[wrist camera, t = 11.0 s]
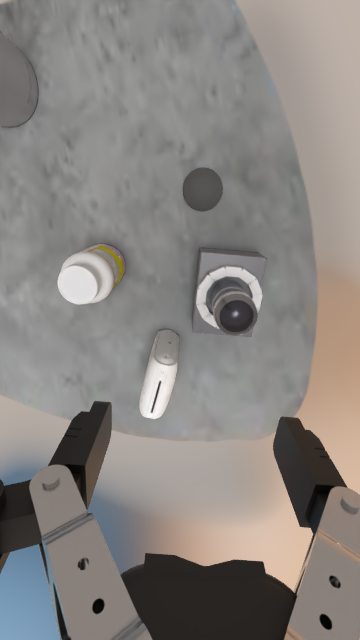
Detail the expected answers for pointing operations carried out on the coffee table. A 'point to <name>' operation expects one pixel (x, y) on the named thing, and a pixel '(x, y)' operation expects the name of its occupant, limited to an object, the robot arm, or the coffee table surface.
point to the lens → (232, 308)
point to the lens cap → (202, 189)
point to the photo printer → (160, 374)
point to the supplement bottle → (91, 274)
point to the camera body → (218, 268)
